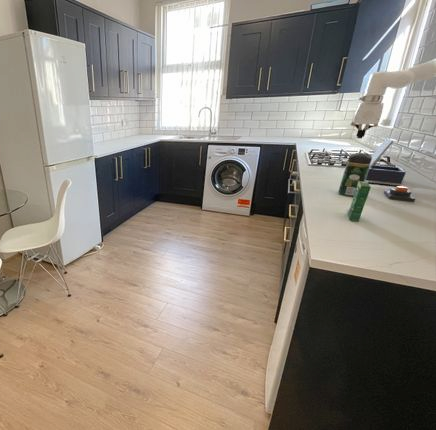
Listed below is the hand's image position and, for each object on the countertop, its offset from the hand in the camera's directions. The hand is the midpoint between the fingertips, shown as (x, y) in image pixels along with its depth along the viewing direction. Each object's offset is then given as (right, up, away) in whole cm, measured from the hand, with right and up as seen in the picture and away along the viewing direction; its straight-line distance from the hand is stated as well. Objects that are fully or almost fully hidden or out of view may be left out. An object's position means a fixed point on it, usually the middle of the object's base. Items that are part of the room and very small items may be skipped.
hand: (359, 138), depth 144 cm
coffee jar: (-19, -30, -15) cm, 39 cm away
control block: (-1, -32, -21) cm, 38 cm away
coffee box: (-39, -41, -41) cm, 70 cm away
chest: (+12, -23, +2) cm, 26 cm away
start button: (-1, -29, -22) cm, 36 cm away
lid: (+8, -8, -2) cm, 12 cm away
